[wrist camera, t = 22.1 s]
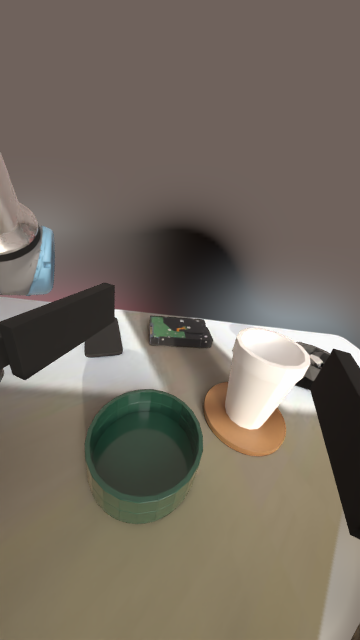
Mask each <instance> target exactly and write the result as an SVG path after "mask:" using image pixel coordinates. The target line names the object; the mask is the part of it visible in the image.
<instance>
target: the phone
mask: <svg viewBox="0 0 360 640" xmlns="http://www.w3.org/2000/svg"><path fill="white" fill-rule="evenodd" d="M122 352H123V347H122V342H121V337H120V331H119V326H118V321H117V318H115V317H114V322H113V323H112V324H110V325H108V326H107V327H105V328H104V329H102V330H101V331H99V332H98V333H96V334H95V335H93V336H92V337H90V338H89V339H87V340H86V341H85V356H87V357H100V356H111V355H119V354H121V353H122Z"/></svg>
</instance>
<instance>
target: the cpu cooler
mask: <svg viewBox="0 0 360 640" xmlns="http://www.w3.org/2000/svg"><path fill="white" fill-rule="evenodd" d="M296 343H298V344H299V345H301V346H302V347H303V348H304V349H305V351H306V352H307V353H308V354H309V355H310V366H309V367H308V369H307V371H306V373H305V375H304V376H303V378H302V379H301V380H299V381H298V382H297V383H296V384H295V385H297V386H300V387H302V388H305V389H309V390H310V387H311V385H312V383H313V382H314V380H315V378H316V377H317V375H318V373H319V372H320V370H321V368H322V367H323V365H324V363H325V362H326V360H327V358H328V357H329V355H330V353H328V352H327V351H324V350H322V349H320V348H317V347H315V346H313V345H308V344H304V343H302V342H296Z"/></svg>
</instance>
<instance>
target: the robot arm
mask: <svg viewBox="0 0 360 640" xmlns="http://www.w3.org/2000/svg"><path fill="white" fill-rule="evenodd" d="M54 249H55V247H54V234H53V231H52V230H51V229H50V228H46V227H44V226H41V227H39V226H38V222H37V219H36V217H35V216H34V214H33V213H32V212H31V211H30V210H29V209H28V208H27V207H26V206H24V205H23V204H21V203H19V202H18V200H17V197H16V194H15V191H14V189H13V186H12V183H11V180H10V177H9V175H8V172H7V169H6V166H5V164H4V161H3V158H2V155H1V153H0V295H26V296H30V295H35V294H36V295H37V294H47V293H49V292H50V291H51V290H52V288H53V283H54V265H55V263H54V262H55V260H54V259H55V252H54V251H55V250H54ZM114 288H115V287H114V285H111V284H108V283H102V284H100V285H97V286H94V287H92V288H89V289H86V290H84V291H81V292H78V293H76V294H74V295H70V296H68V297H65V298H63V299H60V300H57V301H54V302H52V303H49V304H46V305H44V306H41V307H38V308H36V309H33V310H30V311H28V312H25V313H22V314H20V315H17V316H14V317H12V318H9V319H6V320H4V321H1V322H0V382H1V380H2V378H3V375H4V370H3V368H4V367H6V366H7V365H9V364H10V367H11V370H12V374H13V375H15V376H17V377H19V378H21V379H23V380H26V379H28V378H29V377H31V376H32V375H34V374H36V373H37V372H39V371H40V370H42V369H43V368H45V367H46V366H48V365H49V364H51V363H52V362H54V361H55V360H57V359H58V358H60V357H61V356H63V355H64V354H66V353H67V352H69V351H70V350H72V349H74V348H75V347H77V346H78V345H80V344H81V343H83V342H84V341H86V340H87V339H89V338H90V337H92V336H93V335H95V334H96V333H98V332H99V331H101V330H102V329H104V328H105V327H107V326H108V325H110V324H112V323H113V322H114V293H115V290H114ZM310 390H311V394H312V397H313V401H314V405H315V408H316V412H317V416H318V419H319V423H320V427H321V430H322V434H323V438H324V441H325V445H326V449H327V452H328V456H329V460H330V463H331V467H332V470H333V474H334V478H335V481H336V485H337V489H338V492H339V496H340V500H341V503H342V507H343V511H344V514H345V518H346V522H347V525H348V529H349V533H350V535H352V536H354V537H356V538H358V539H360V368H359V366H358V365H357V363H356V362H355V360H354V359H353V357H352V356H351V354H350V353H347V352H343V351H340V350H336V349H333V350H332V352H331V353H330V355H329V357H328V358H327V360H326V362H325V363H324V365H323V367H322V368H321V370H320V372H319V373H318V375H317V377H316V378H315V380H314V382H313V383H312V385H311V387H310ZM351 640H360V624H359V626H358V628H357V629H356V631H355V633H354V635H353V637H352V639H351Z"/></svg>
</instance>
